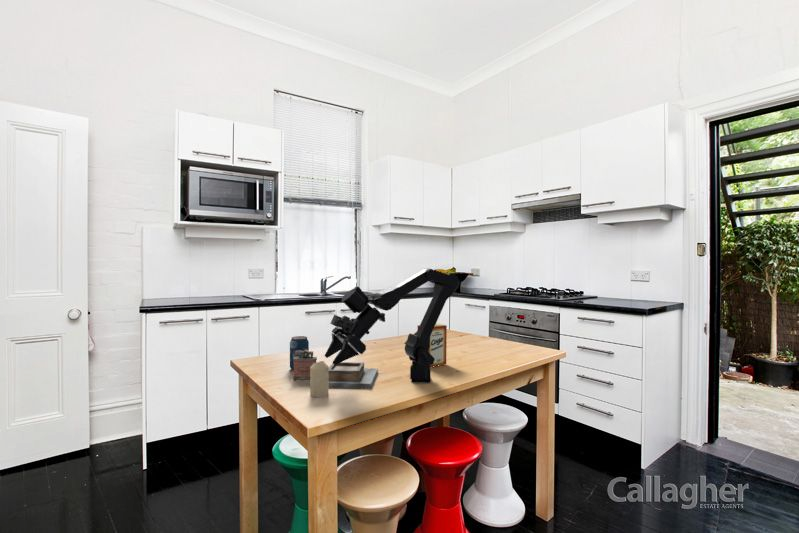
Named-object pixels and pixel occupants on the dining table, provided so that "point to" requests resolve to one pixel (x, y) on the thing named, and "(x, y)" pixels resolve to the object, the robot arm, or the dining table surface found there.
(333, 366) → the candle stand
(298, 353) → the lighter
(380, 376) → the dining table surface
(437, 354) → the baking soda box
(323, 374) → the candle
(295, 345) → the soda can
